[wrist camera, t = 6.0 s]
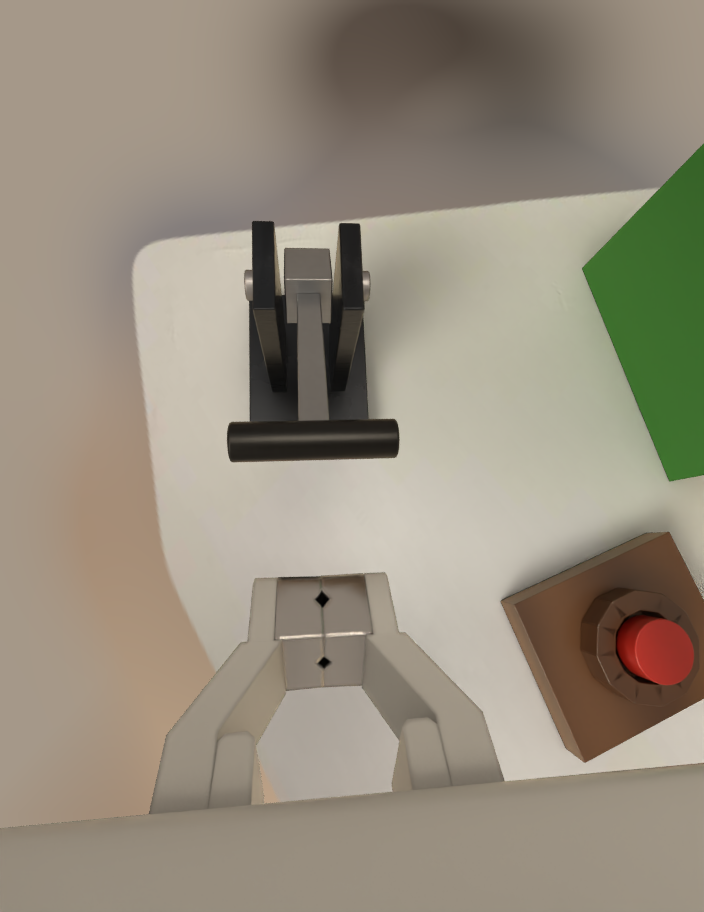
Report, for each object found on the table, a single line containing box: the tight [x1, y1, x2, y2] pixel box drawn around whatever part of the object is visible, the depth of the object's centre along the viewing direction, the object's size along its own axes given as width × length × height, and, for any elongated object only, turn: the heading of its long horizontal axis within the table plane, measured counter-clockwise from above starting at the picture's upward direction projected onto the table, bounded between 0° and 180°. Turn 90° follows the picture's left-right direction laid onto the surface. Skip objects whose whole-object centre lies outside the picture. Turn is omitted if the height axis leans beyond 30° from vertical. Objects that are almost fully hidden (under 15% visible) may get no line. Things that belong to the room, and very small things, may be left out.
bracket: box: [244, 221, 370, 422], centre depth 28 cm, size 10×8×13 cm
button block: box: [501, 532, 704, 763], centre depth 31 cm, size 12×10×4 cm
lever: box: [227, 248, 399, 462], centre depth 21 cm, size 12×6×2 cm, turn 3°
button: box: [617, 615, 694, 685], centre depth 28 cm, size 4×4×2 cm
